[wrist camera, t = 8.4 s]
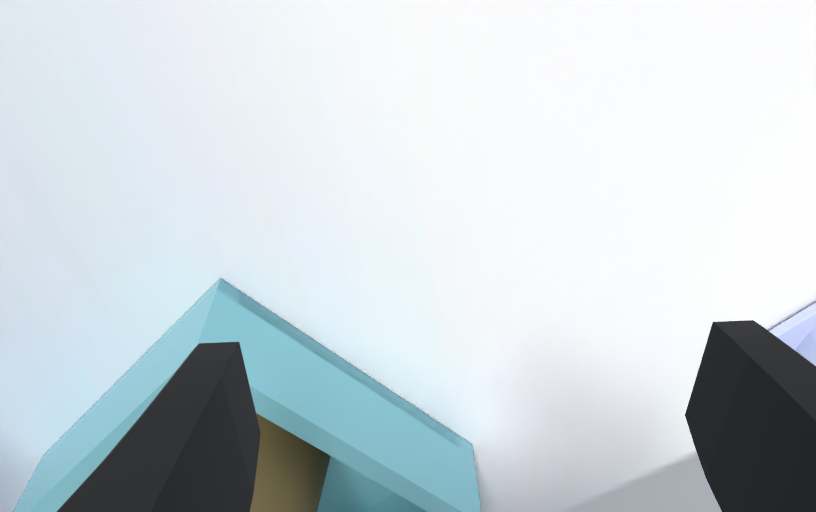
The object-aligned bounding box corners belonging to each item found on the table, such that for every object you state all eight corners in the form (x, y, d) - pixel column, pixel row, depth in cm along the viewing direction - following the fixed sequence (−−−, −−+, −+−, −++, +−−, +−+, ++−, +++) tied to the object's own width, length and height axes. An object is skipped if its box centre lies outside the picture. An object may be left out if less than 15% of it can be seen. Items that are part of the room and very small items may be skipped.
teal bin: (472, 444, 26) (482, 523, 23) (283, 570, 31) (273, 649, 28) (220, 278, 21) (194, 352, 18) (41, 457, 26) (-2, 539, 23)
